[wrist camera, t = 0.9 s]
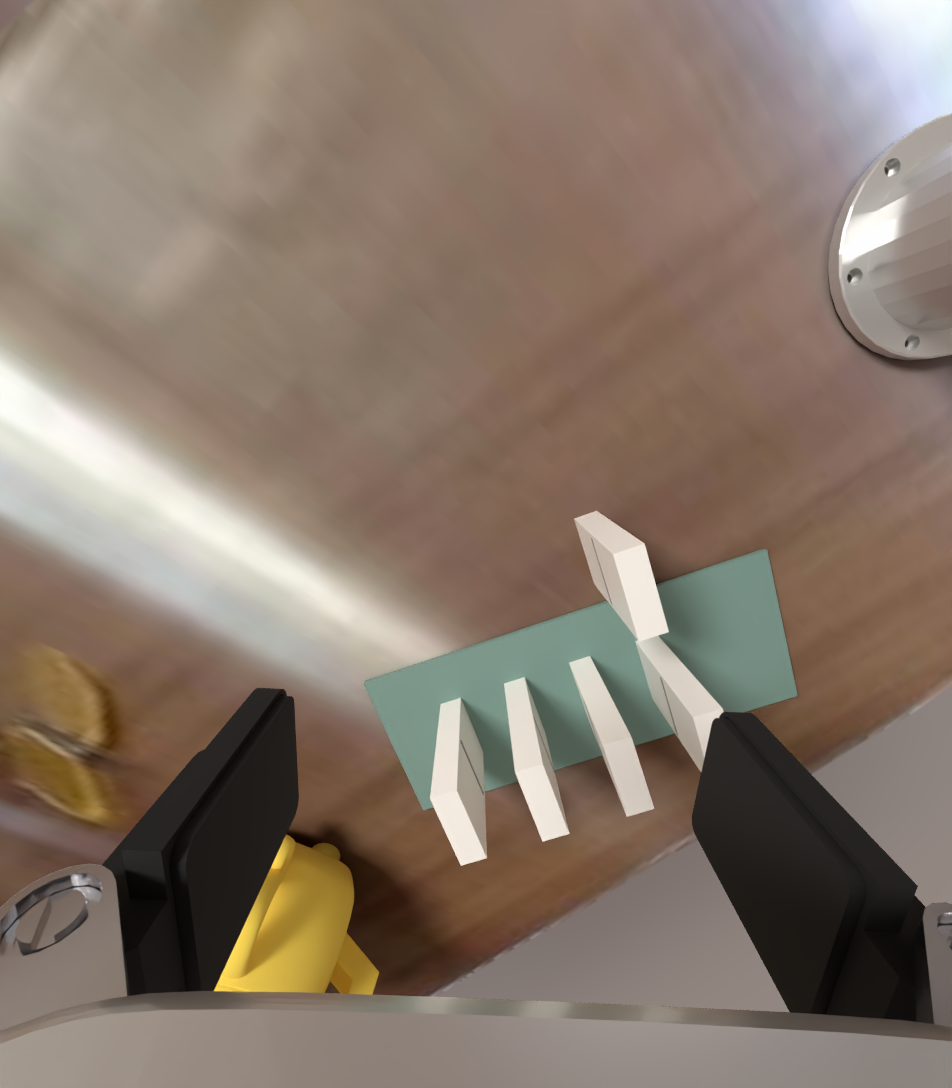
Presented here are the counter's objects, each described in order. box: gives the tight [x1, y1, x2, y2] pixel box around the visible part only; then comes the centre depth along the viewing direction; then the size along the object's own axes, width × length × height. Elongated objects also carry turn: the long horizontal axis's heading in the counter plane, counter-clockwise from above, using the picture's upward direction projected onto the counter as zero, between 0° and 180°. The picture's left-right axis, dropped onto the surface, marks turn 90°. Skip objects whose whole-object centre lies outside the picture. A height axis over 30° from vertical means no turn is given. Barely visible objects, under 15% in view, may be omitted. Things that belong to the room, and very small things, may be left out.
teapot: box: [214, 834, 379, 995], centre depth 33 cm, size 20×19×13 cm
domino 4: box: [569, 656, 654, 817], centre depth 30 cm, size 2×5×9 cm, turn 20°
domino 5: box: [635, 636, 723, 772], centre depth 29 cm, size 2×5×9 cm, turn 20°
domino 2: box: [504, 677, 569, 841], centre depth 30 cm, size 2×5×9 cm, turn 20°
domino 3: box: [574, 511, 669, 642], centre depth 28 cm, size 2×5×9 cm, turn 20°
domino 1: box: [430, 698, 487, 866], centre depth 31 cm, size 2×5×9 cm, turn 20°
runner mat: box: [364, 549, 798, 810], centre depth 34 cm, size 30×12×1 cm, turn 110°
